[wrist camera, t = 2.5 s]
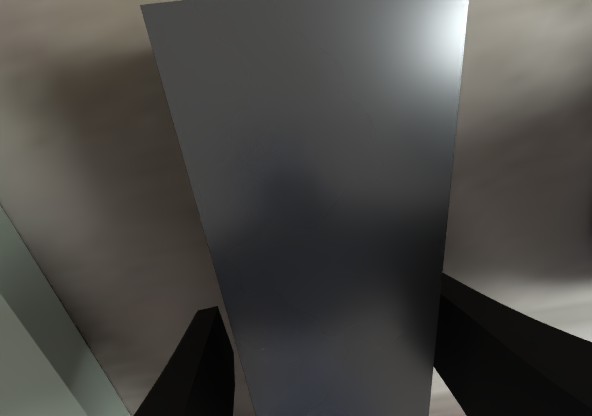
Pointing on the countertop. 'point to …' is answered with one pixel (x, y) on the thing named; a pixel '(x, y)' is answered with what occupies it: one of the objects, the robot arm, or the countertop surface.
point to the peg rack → (43, 345)
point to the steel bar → (321, 186)
